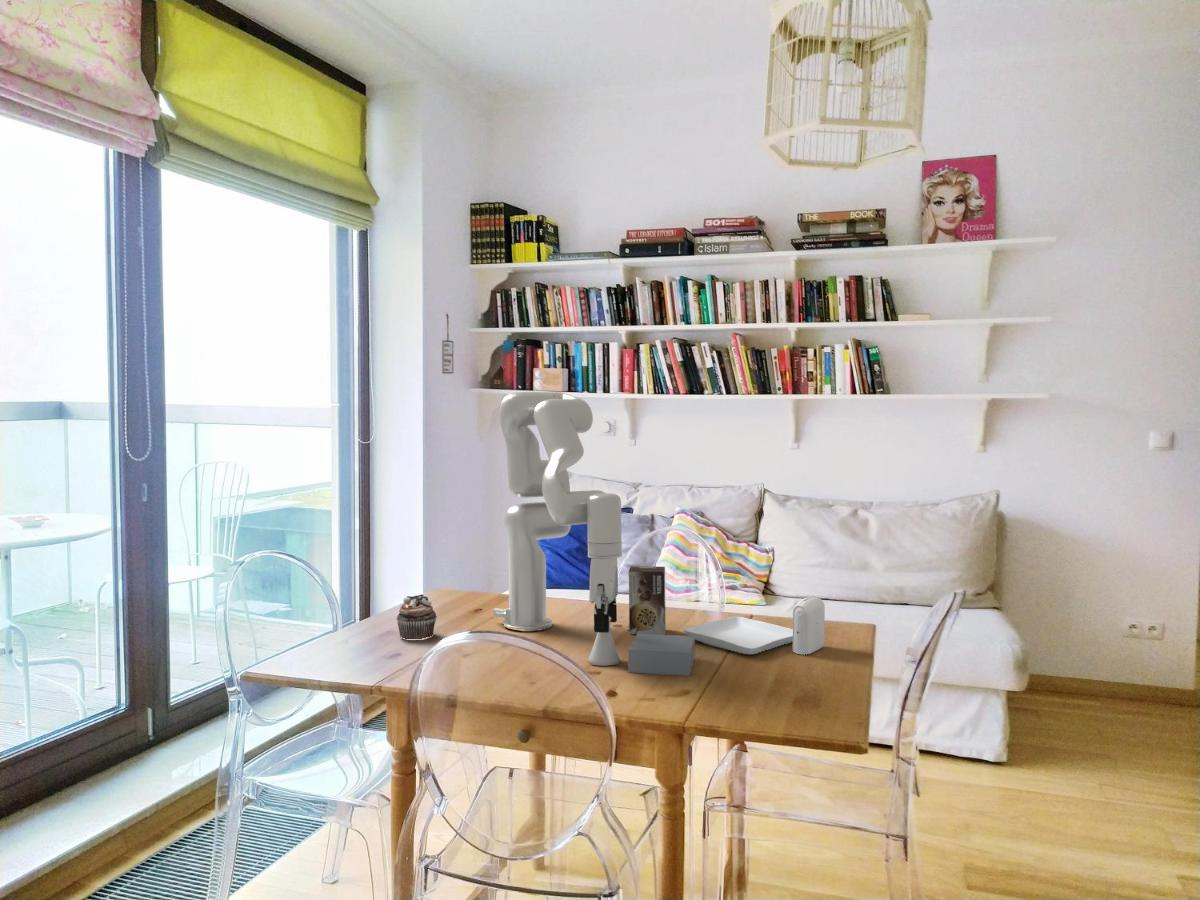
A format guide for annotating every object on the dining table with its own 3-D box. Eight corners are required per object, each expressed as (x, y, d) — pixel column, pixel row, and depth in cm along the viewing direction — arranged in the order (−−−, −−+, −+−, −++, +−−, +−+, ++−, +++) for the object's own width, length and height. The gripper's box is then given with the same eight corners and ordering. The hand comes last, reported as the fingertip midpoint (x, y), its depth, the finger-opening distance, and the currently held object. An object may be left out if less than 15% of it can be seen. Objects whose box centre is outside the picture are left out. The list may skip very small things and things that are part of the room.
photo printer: (807, 657, 201) (807, 603, 200) (789, 653, 203) (790, 600, 203) (826, 647, 209) (827, 595, 208) (809, 644, 211) (810, 592, 211)
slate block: (628, 672, 189) (628, 649, 189) (637, 655, 202) (637, 633, 202) (689, 676, 187) (689, 652, 186) (694, 658, 200) (694, 636, 199)
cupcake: (389, 636, 218) (389, 596, 218) (424, 629, 224) (424, 590, 224) (408, 644, 211) (408, 602, 210) (444, 637, 217) (443, 596, 217)
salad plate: (806, 644, 212) (806, 630, 212) (752, 662, 198) (752, 647, 198) (736, 627, 228) (736, 614, 228) (680, 643, 213) (681, 629, 213)
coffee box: (665, 629, 225) (666, 566, 224) (665, 635, 218) (665, 571, 218) (629, 628, 226) (630, 565, 225) (628, 634, 219) (628, 570, 218)
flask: (586, 657, 200) (586, 614, 199) (618, 657, 201) (618, 613, 200) (588, 667, 193) (589, 622, 192) (622, 666, 193) (622, 621, 193)
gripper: (595, 544, 204) (596, 617, 205) (579, 555, 187) (581, 635, 188) (627, 544, 203) (628, 618, 204) (614, 556, 186) (615, 637, 187)
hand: (605, 626), depth 196 cm, fingers open, 9 cm apart
